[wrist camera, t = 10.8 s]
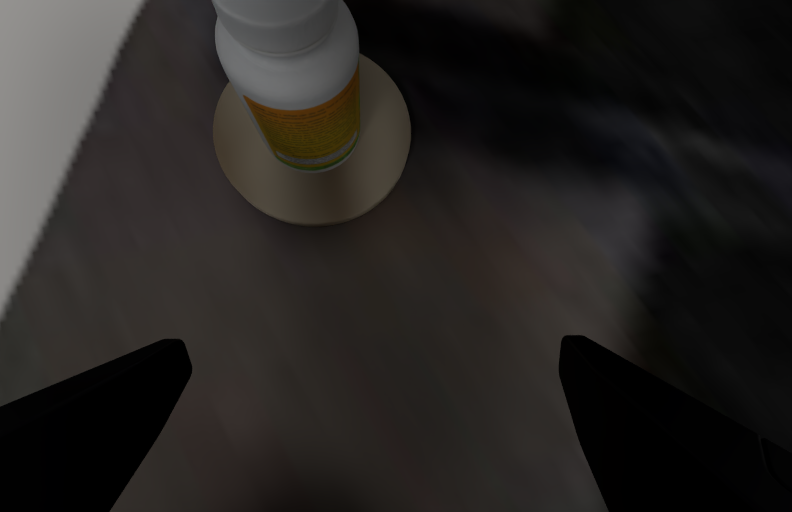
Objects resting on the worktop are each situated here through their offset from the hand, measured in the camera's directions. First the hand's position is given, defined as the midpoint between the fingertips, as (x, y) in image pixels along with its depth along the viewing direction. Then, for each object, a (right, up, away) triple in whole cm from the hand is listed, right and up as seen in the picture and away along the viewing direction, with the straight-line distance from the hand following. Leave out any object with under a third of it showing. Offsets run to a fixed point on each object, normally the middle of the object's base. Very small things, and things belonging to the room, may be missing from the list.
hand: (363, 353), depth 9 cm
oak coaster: (-4, +9, +13) cm, 17 cm away
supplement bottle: (-4, +9, +12) cm, 16 cm away
